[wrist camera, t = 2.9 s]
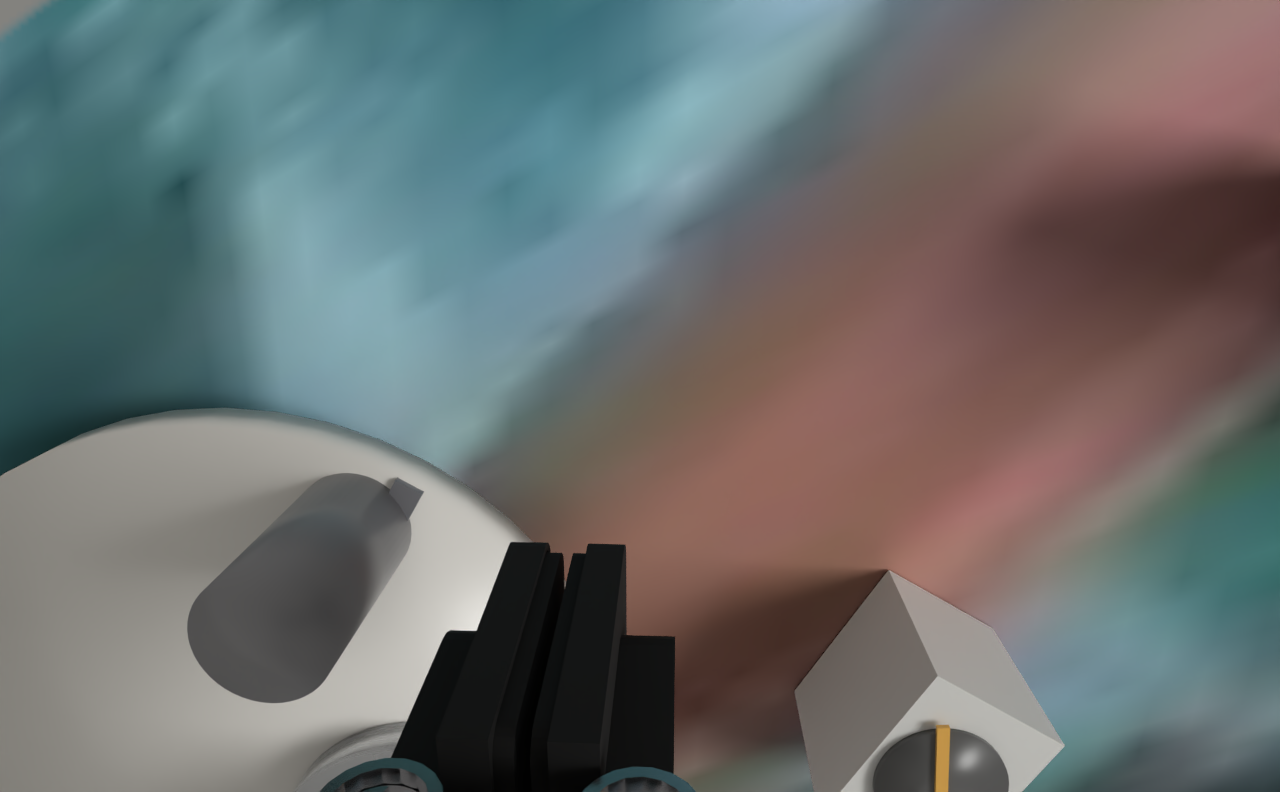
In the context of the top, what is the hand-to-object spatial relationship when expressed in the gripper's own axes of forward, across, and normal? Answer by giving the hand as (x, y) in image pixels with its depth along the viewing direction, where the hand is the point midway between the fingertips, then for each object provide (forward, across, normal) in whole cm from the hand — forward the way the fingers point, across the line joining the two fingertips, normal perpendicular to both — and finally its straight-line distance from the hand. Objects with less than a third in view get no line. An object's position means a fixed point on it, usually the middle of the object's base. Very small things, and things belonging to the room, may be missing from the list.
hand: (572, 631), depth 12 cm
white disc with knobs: (+7, +8, +8) cm, 13 cm away
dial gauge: (+7, -7, +6) cm, 11 cm away
